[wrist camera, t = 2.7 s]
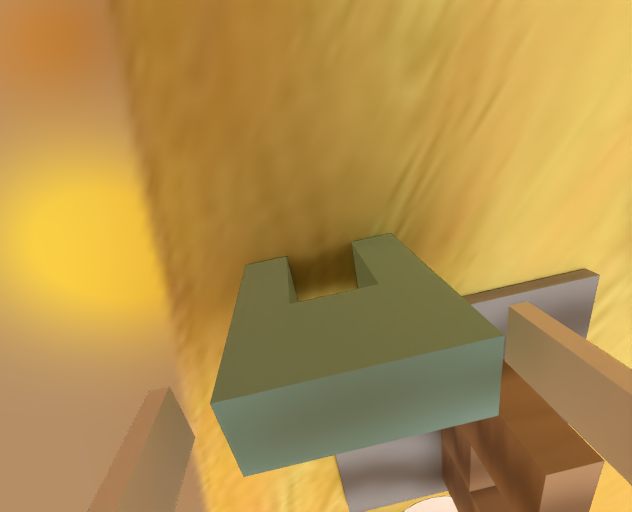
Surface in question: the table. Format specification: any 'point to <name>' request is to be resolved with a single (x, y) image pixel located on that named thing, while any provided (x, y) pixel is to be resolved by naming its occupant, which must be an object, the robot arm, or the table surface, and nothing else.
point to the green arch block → (351, 361)
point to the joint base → (493, 433)
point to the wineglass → (434, 505)
